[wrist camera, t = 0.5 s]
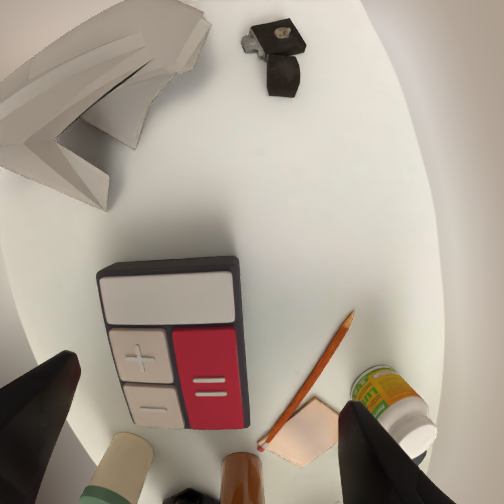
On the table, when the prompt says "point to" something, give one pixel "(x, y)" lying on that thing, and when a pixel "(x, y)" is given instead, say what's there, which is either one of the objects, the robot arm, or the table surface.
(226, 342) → the calculator
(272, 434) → the pencil
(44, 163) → the origami crane
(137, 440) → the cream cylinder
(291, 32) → the lighter
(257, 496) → the amber bottle
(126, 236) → the table surface
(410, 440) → the supplement bottle
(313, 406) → the cork pad
